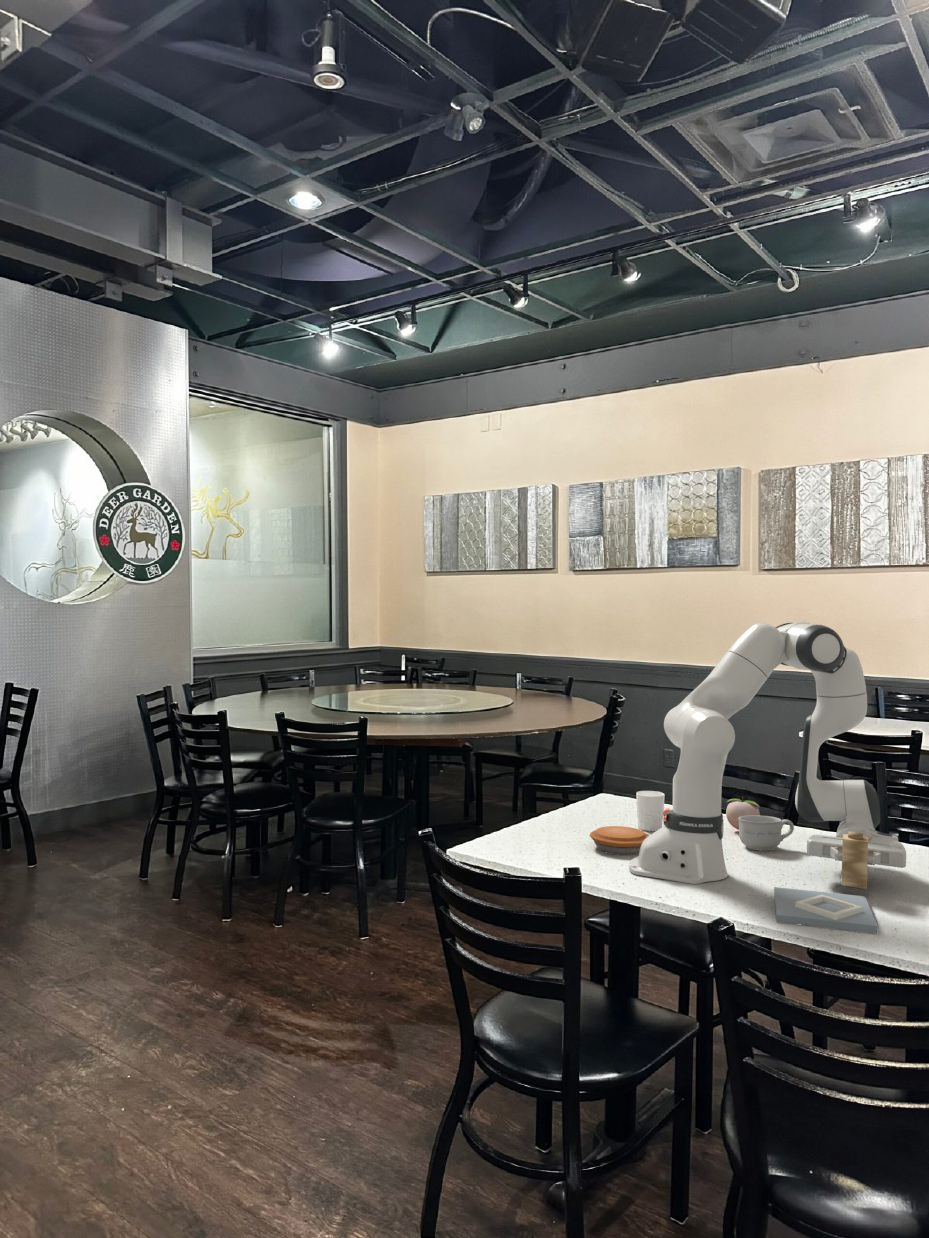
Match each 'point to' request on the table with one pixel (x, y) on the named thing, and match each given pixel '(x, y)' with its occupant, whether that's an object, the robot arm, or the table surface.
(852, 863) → the oak pillar
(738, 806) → the decorative fruit
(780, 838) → the teacup
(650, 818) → the white cup
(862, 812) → the robot arm
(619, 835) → the pie
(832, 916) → the socket frame
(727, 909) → the table surface
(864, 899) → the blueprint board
